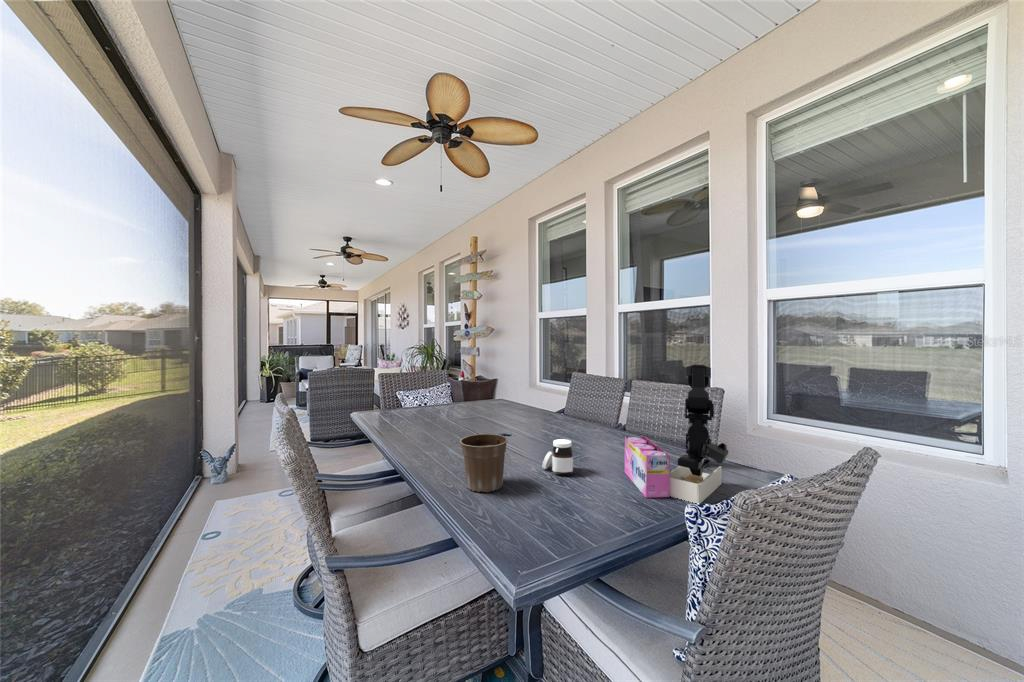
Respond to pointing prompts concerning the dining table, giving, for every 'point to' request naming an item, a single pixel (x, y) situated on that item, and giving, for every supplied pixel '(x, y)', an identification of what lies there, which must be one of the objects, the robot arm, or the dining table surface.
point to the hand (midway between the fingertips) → (697, 482)
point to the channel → (693, 484)
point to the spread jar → (560, 457)
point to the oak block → (694, 478)
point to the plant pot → (484, 461)
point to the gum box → (647, 466)
